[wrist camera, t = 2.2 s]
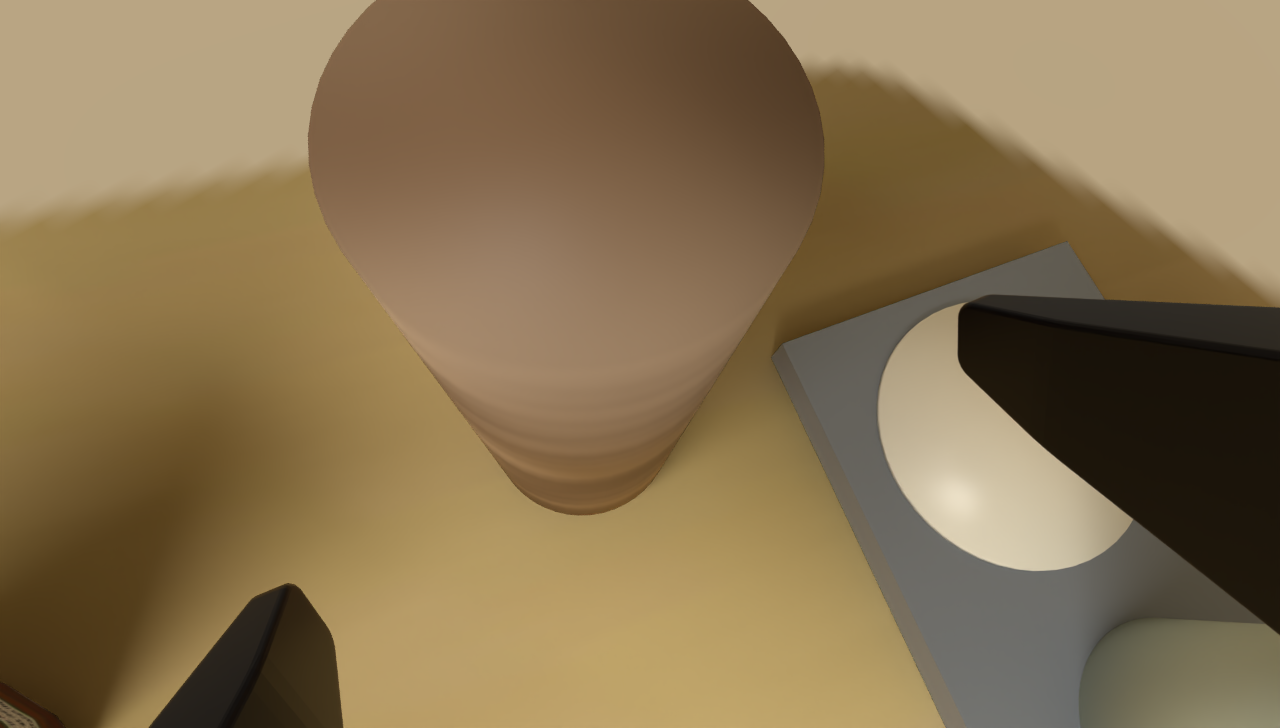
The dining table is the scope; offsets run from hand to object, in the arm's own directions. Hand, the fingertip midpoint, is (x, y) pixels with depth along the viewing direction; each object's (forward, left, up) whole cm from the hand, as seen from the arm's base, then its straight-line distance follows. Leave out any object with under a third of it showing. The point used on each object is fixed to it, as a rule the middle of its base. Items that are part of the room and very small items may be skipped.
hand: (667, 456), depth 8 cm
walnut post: (+3, 0, -10) cm, 11 cm away
